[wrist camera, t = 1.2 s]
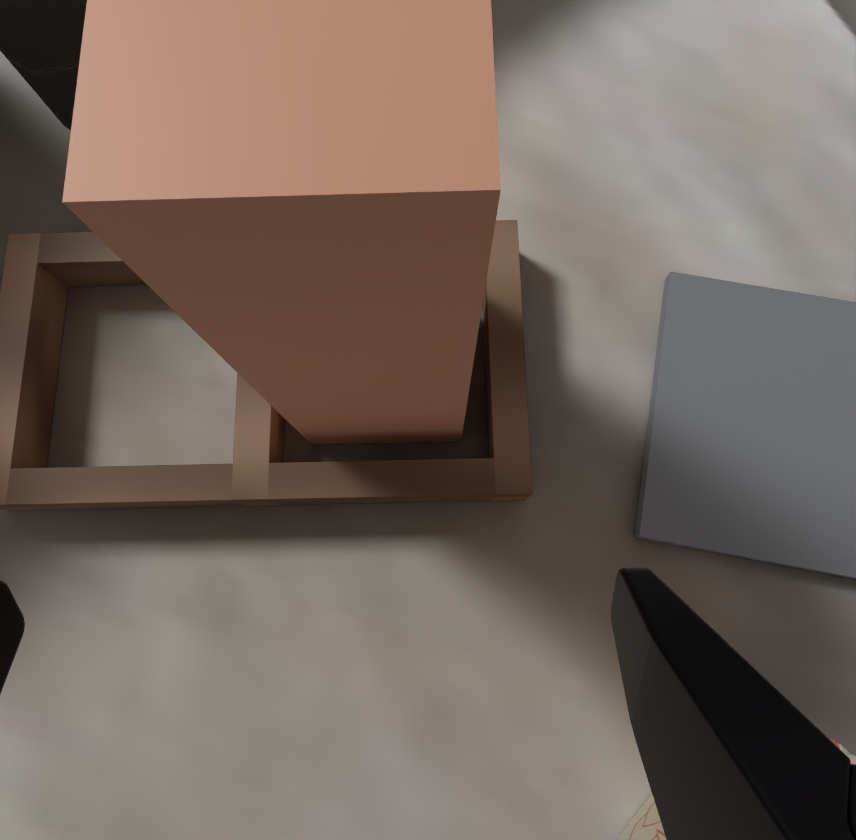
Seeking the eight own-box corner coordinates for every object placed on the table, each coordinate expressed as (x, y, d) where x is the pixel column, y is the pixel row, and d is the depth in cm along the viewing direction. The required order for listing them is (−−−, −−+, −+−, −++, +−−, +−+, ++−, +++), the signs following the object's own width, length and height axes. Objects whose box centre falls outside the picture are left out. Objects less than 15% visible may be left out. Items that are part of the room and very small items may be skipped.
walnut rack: (524, 500, 23) (532, 493, 21) (8, 510, 23) (-31, 505, 21) (511, 247, 25) (517, 219, 23) (41, 259, 26) (8, 233, 24)
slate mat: (927, 593, 22) (940, 593, 21) (634, 537, 23) (639, 536, 22) (932, 323, 24) (944, 316, 24) (665, 278, 25) (670, 271, 24)
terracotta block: (461, 441, 24) (500, 189, 8) (311, 444, 24) (61, 202, 8) (457, 301, 25) (483, -152, 9) (314, 304, 25) (103, -138, 9)
